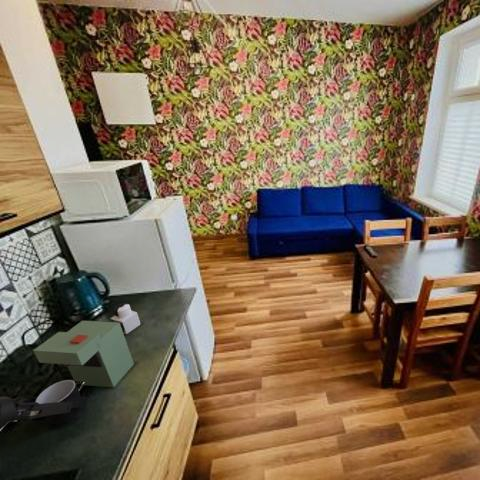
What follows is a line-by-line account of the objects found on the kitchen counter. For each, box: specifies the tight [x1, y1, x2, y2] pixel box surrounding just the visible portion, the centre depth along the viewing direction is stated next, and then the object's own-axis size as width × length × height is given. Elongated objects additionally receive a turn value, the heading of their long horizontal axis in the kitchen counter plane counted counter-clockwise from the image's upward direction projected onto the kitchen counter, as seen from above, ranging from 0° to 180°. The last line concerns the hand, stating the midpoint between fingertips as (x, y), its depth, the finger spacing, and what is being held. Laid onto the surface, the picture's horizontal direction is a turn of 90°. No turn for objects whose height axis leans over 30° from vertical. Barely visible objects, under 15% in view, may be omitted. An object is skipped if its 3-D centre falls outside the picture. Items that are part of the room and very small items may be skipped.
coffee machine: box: [32, 320, 135, 388], centre depth 91 cm, size 14×16×23 cm
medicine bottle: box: [110, 302, 141, 335], centre depth 118 cm, size 7×7×12 cm
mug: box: [29, 379, 83, 426], centre depth 81 cm, size 12×9×10 cm
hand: (67, 400), depth 84 cm, fingers closed on mug, 10 cm apart
